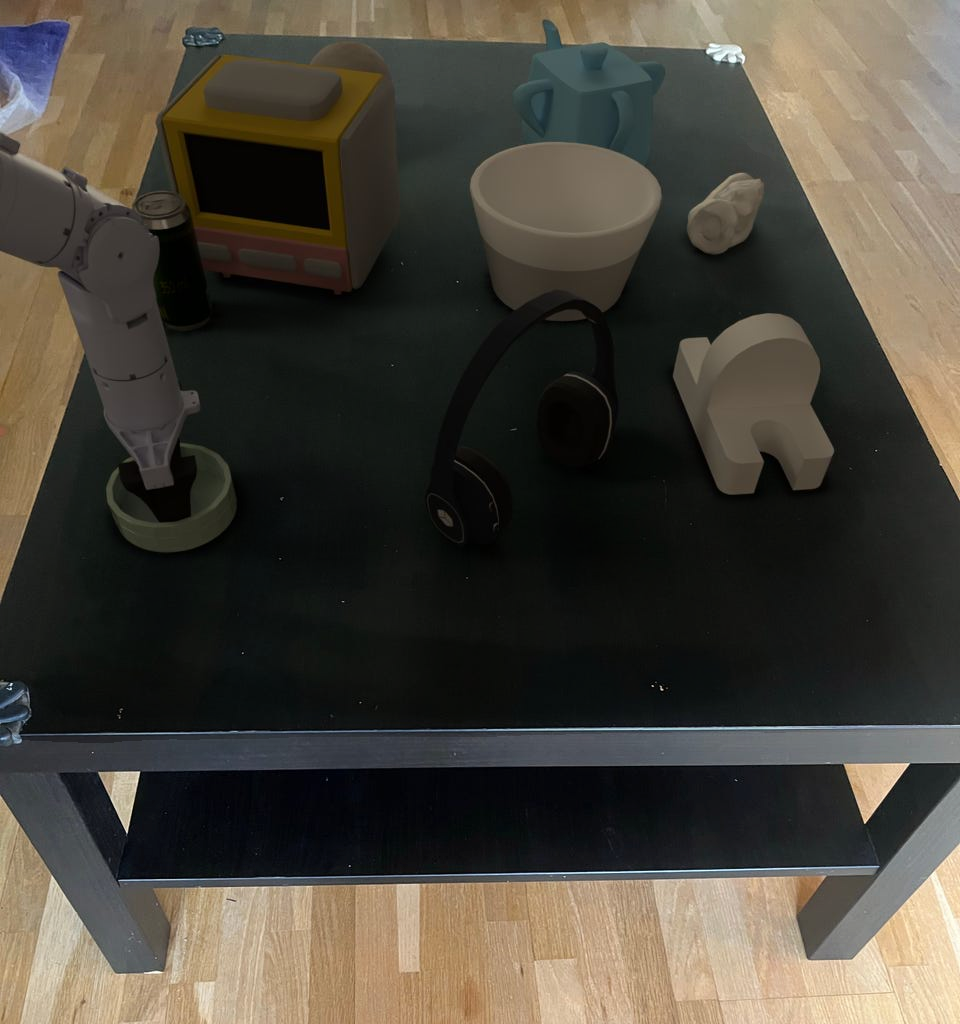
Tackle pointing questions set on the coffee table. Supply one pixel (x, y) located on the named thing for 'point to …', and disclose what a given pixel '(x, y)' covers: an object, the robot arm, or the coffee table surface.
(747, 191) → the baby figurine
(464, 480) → the earphone
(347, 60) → the seashell
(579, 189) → the bowl
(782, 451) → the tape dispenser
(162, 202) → the beer can
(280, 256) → the alarm clock
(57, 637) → the coffee table surface
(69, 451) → the coffee table surface
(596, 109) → the teapot
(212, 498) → the celadon bowl
